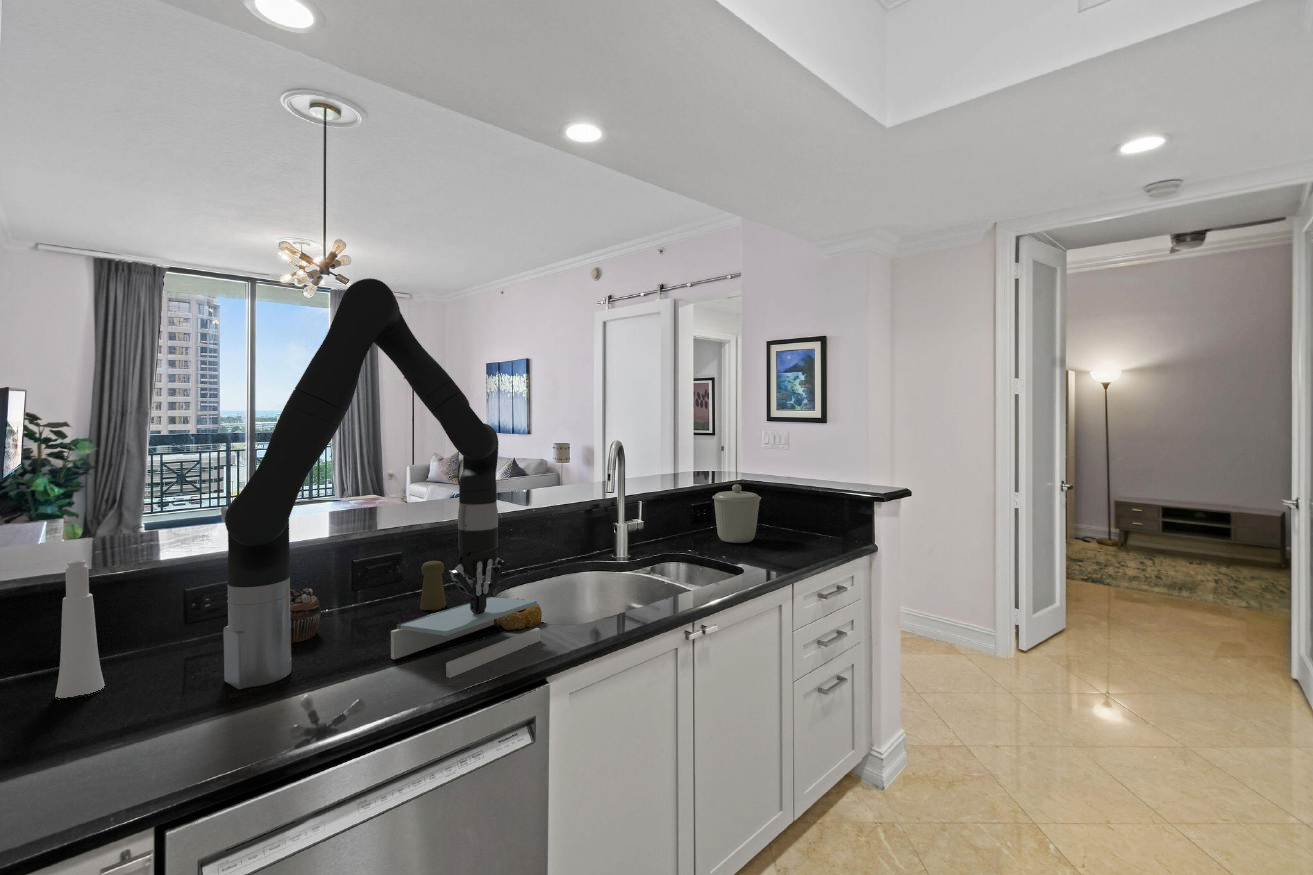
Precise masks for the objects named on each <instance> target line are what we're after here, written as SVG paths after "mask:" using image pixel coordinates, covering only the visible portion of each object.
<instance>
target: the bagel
mask: <svg viewBox="0 0 1313 875" xmlns="http://www.w3.org/2000/svg"><path fill="white" fill-rule="evenodd" d="M516 599H520V600H526V599H525V598H516ZM542 614H543V613H542V609H541V606H540V605H539V604H538V603H537V605H535V606H532V607H529V608H526V609H523V610H520V611H517V612H514V613H511V614H508V615H505V616H502V617H499V618H497V619H496V623H497V624H498V625H499V626H500V627H501V628H503V629H504V630H506V631H509V632H510V631H514V630H515V631H517V630H523V629H525V628H534V627H535V626H537V625H540V624H541V623H542ZM539 623H540V624H539Z"/></svg>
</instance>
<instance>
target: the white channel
mask: <svg viewBox="0 0 1313 875" xmlns="http://www.w3.org/2000/svg"><path fill="white" fill-rule="evenodd" d="M494 624H495V619H494V620H491V621H488V622H485V623H482V624H479V625H476V626H473V627H470V628H467V629H464V630H461V631H459V632H456V633H453V634H450V635H447V636H444V635H437V634H430V633H423V632H416V631H409V630H402V629H398V628H396V629H393V630H390V659H392V660H397V659H400V658H402V657H406V656H408V655H411V654H414V653H417V652H419V651H422V650H425V649H426V650H427V649H428V648H431V647H433V646H437V645H439V644H442V643H443V644H444V643H445V642H448V641H451V640H455V639H457V638H460V637H462V636H465V635H468V634H472V633H474V632H477V631H480V630H482V629H485V628H488V627H491V626H493V625H494ZM540 641H541V628H538V627H535V628H533V629H530V630H528V631H525V632H523V633H520V634H518V635H514V636H512V637H510V638H507V639H504V640H502V641H500V642H496V643H494V644H492V645H489V646H487V647H484V648H482V649H481V648H480V649H479V650H476V651H473V652H470V653H467V654H465V655H463V656H461V657H457V658H456V659H452V660H450V661H447V662H446V663H445V667H446V668H445V669H446V670H445V672H446V673H445V675H446V676H445V677H446V678H449V679H451V678H453V677H456V676H458V675H460V674H463V673H465V672H468V671H470V670H473V669H475V668H478V667H480V666H483V665H485V664H488V663H491V662H493V661H495V660H497V659H500V658H502V657H504V656H507V655H509V654H511V653H512V654H513V653H515V652H517V651H519V650H521V649H524V648H525V647H526V648H527V647H529V646H531V645H534V644H536V643H538V642H540ZM528 645H529V646H528Z"/></svg>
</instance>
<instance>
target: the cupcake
mask: <svg viewBox="0 0 1313 875" xmlns="http://www.w3.org/2000/svg"><path fill="white" fill-rule="evenodd" d="M313 592H314V591H313V589H312V588H309V587H308V586H307V588H306V587H303V588H300V589H299V590H298V591H296V590H295V589H294V588H290V621H291V644H293V643H300V642H304V641H307V640H310V639H312V638H314V637H315V636H316V635H317V632H318V629H319V622H320V618H321V614H322V608H321V606H320V603H321V602H320V600H319V599H318V597H317V596H315V595H313Z"/></svg>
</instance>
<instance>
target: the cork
mask: <svg viewBox="0 0 1313 875" xmlns="http://www.w3.org/2000/svg"><path fill="white" fill-rule="evenodd" d="M420 569H421V574H422V576H423V582H422V589H421V599H420V606H419V609H420V610H421V611H426V610H432V611H438V610H442V609H444V608H446V607H447V602H446V595H445V594H446V593H445V587H444V580H443V573H444V571H445V566H444V563H443V562H442V561H439V560H429V561H426V562H424V563H423V564H422V565H421V568H420ZM445 606H446V607H445ZM441 608H442V609H441Z"/></svg>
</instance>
